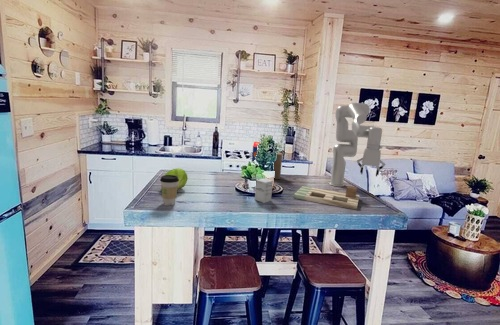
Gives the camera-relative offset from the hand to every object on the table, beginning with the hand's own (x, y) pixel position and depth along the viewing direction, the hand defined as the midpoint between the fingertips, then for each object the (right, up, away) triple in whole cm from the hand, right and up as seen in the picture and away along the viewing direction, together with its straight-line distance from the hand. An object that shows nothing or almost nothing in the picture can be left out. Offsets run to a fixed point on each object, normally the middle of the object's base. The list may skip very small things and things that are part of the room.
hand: (369, 174), depth 188 cm
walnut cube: (-9, -14, +6) cm, 18 cm away
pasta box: (-70, -7, +37) cm, 79 cm away
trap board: (-25, -16, +6) cm, 30 cm away
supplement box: (-67, -15, -7) cm, 69 cm away
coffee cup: (-119, -15, -23) cm, 122 cm away
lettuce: (-122, -10, +3) cm, 122 cm away
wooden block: (-56, -5, +53) cm, 77 cm away
